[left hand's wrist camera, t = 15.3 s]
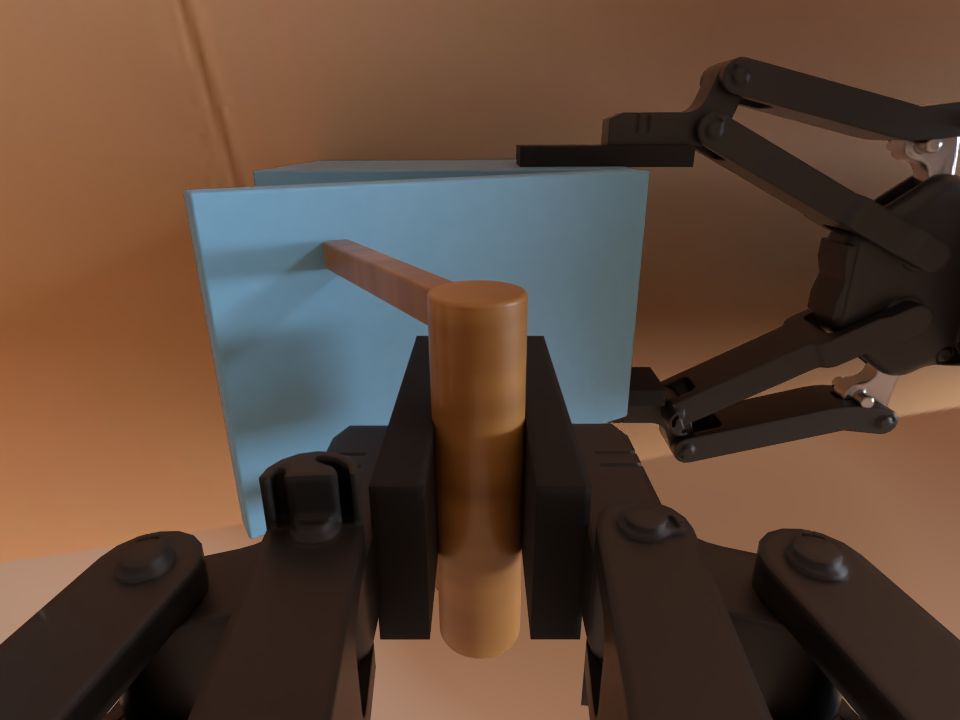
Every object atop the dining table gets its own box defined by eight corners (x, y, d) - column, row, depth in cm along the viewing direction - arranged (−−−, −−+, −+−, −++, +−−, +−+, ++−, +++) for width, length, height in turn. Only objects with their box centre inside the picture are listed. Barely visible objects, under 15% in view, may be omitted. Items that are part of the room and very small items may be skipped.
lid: (242, 521, 17) (345, 787, 10) (182, 189, 14) (274, 243, 7) (609, 407, 24) (820, 517, 17) (629, 168, 21) (901, 184, 14)
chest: (335, 337, 32) (285, 407, 24) (317, 160, 29) (252, 171, 21) (581, 336, 32) (615, 405, 24) (592, 158, 29) (635, 168, 21)
